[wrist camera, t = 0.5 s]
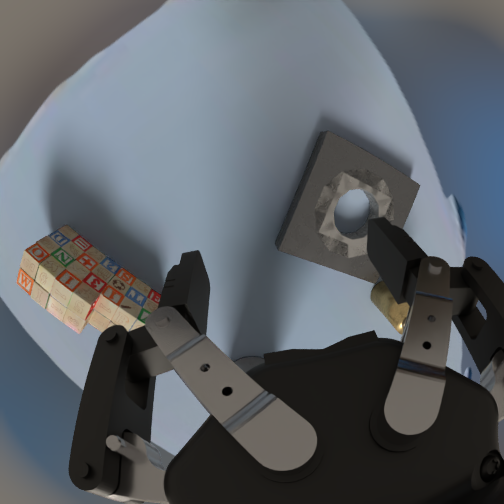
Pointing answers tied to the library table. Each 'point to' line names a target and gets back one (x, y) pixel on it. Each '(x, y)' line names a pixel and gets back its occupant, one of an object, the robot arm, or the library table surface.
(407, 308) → the brass sleeve
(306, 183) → the plate
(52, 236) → the stack of blocks
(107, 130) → the library table surface
